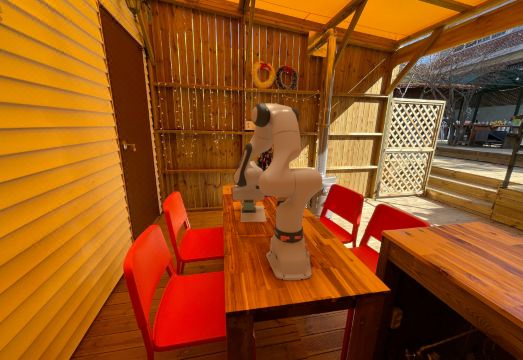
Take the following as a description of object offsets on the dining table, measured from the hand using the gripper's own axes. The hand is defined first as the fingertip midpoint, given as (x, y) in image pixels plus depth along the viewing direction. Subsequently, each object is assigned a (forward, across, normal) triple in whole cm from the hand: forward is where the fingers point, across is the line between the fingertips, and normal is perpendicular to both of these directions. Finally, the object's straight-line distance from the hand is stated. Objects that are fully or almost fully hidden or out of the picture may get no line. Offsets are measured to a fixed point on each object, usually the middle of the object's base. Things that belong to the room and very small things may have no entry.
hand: (248, 205), depth 137 cm
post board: (+4, +2, -5) cm, 7 cm away
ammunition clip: (+5, +24, +7) cm, 26 cm away
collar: (+2, 0, 0) cm, 2 cm away
